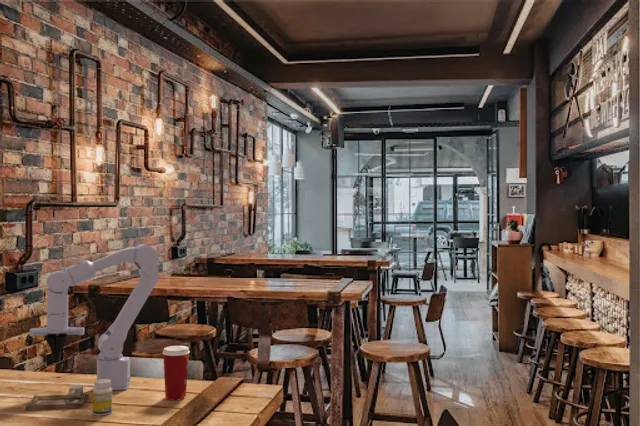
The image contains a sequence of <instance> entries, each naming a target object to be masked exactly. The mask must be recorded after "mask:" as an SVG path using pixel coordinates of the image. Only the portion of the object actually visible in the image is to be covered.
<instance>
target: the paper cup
mask: <svg viewBox="0 0 640 426" xmlns="http://www.w3.org/2000/svg"><path fill="white" fill-rule="evenodd" d="M190 352H191V351H190V350H189V347H188V346H186V345H170V346H166V347H164V348H163V351H162V353H161V354H162V356H163V372H164V374H163V375H164V393H165V400H168V401H179V400H178V399H181V400H183V399H182V398H184V397H185V396H186V395H187V383H188V373H189V371H188V370H189V356H190V355H189V354H190ZM185 398H186V397H185ZM185 398H184V399H185Z"/></svg>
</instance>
